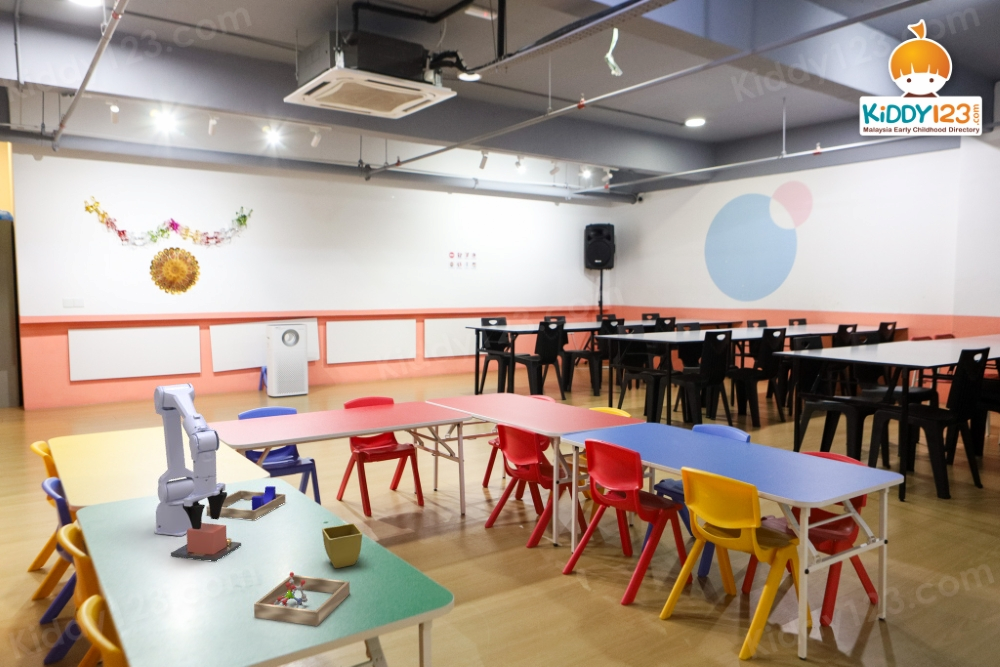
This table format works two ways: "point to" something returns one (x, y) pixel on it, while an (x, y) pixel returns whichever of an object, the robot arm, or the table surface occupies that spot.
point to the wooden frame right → (296, 614)
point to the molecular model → (290, 594)
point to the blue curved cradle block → (264, 497)
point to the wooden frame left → (248, 513)
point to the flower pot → (342, 544)
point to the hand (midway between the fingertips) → (206, 523)
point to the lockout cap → (207, 539)
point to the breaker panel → (184, 554)
